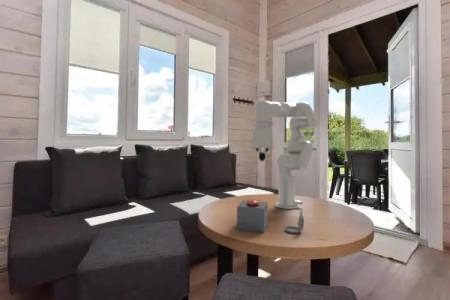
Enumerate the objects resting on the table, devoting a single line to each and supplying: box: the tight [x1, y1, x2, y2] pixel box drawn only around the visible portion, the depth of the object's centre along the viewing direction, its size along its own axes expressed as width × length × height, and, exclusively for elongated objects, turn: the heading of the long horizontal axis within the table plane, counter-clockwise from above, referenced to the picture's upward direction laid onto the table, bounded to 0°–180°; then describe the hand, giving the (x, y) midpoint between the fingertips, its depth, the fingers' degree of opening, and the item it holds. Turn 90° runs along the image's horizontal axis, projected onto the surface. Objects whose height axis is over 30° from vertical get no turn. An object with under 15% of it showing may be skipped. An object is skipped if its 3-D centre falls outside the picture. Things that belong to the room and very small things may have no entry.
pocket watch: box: [284, 209, 305, 234], centre depth 109 cm, size 8×8×10 cm
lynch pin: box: [246, 199, 260, 206], centre depth 115 cm, size 6×6×12 cm
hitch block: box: [236, 199, 268, 234], centre depth 115 cm, size 12×12×10 cm
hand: (262, 160), depth 130 cm, fingers closed
